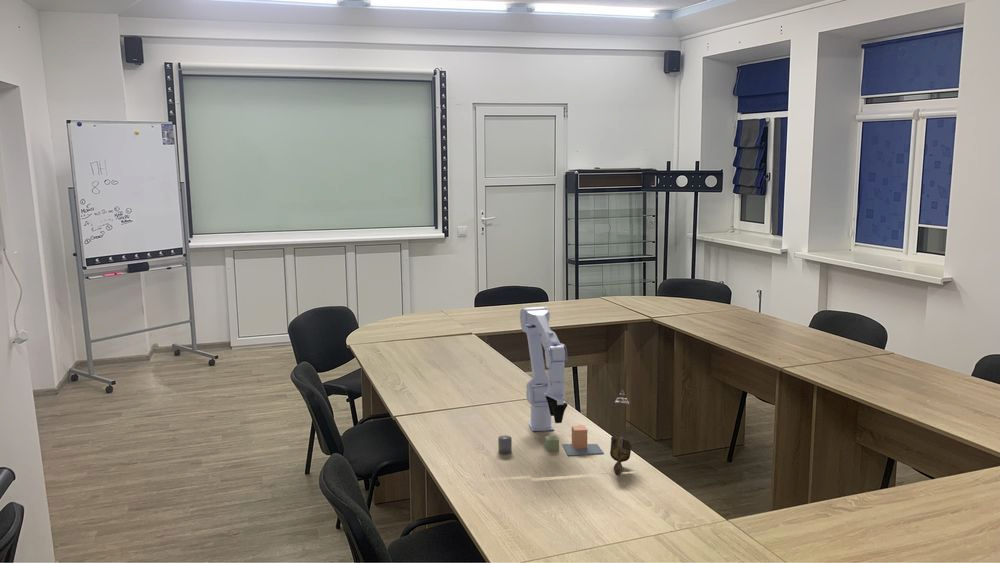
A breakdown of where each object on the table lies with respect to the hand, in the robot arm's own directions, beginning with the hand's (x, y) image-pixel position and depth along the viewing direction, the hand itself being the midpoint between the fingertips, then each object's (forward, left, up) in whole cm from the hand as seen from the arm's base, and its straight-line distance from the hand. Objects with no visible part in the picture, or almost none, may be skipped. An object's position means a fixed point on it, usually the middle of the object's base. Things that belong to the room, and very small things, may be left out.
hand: (555, 419), depth 250 cm
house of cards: (-38, +36, -10) cm, 53 cm away
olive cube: (+3, -2, -10) cm, 10 cm away
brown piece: (+24, +16, -10) cm, 30 cm away
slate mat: (+3, +8, -9) cm, 13 cm away
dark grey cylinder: (+3, -18, -10) cm, 21 cm away
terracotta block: (+3, +8, -9) cm, 12 cm away
